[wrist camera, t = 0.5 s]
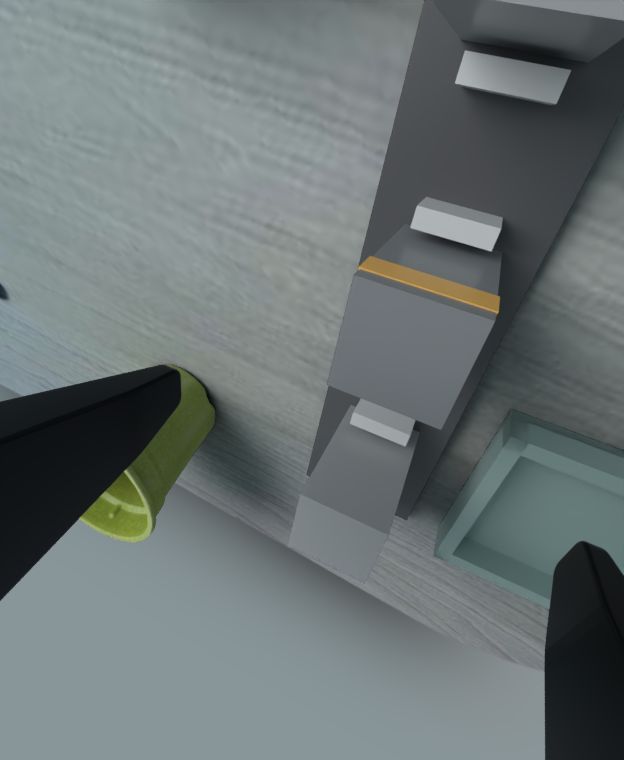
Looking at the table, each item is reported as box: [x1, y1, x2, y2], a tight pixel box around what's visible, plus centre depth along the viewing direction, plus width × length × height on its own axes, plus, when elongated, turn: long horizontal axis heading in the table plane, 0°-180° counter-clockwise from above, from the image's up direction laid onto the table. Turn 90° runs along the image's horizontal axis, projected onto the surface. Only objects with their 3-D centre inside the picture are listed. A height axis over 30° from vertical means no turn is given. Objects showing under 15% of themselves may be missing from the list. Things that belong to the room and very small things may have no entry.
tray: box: [433, 409, 624, 609], centre depth 21 cm, size 10×10×2 cm
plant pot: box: [79, 365, 215, 542], centre depth 26 cm, size 9×9×9 cm
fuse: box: [327, 224, 502, 430], centre depth 15 cm, size 4×4×7 cm
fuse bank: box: [288, 0, 624, 584], centre depth 15 cm, size 7×30×8 cm, turn 169°
